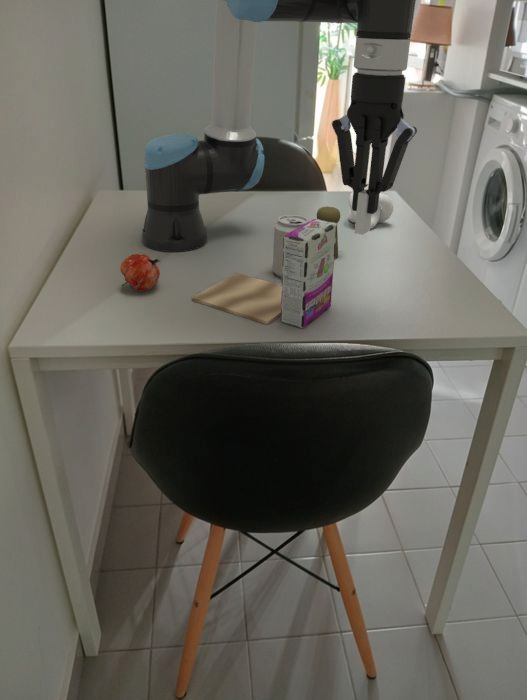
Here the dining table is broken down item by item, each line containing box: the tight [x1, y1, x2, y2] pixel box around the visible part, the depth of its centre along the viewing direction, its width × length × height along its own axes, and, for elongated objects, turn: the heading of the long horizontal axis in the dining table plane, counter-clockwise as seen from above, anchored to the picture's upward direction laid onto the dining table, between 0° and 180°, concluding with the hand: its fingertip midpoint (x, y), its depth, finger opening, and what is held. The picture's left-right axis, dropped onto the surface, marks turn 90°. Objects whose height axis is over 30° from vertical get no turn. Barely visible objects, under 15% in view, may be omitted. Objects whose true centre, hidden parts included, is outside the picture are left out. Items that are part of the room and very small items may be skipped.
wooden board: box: [191, 272, 282, 325], centre depth 117 cm, size 17×15×1 cm
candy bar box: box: [280, 218, 338, 329], centre depth 107 cm, size 11×5×16 cm, turn 148°
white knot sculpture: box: [347, 186, 394, 230], centre depth 156 cm, size 11×12×9 cm
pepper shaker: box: [316, 206, 341, 261], centre depth 135 cm, size 6×6×11 cm
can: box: [272, 214, 310, 279], centre depth 125 cm, size 8×8×12 cm
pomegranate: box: [119, 253, 162, 292], centre depth 118 cm, size 7×7×10 cm
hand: (362, 231), depth 98 cm, fingers closed
